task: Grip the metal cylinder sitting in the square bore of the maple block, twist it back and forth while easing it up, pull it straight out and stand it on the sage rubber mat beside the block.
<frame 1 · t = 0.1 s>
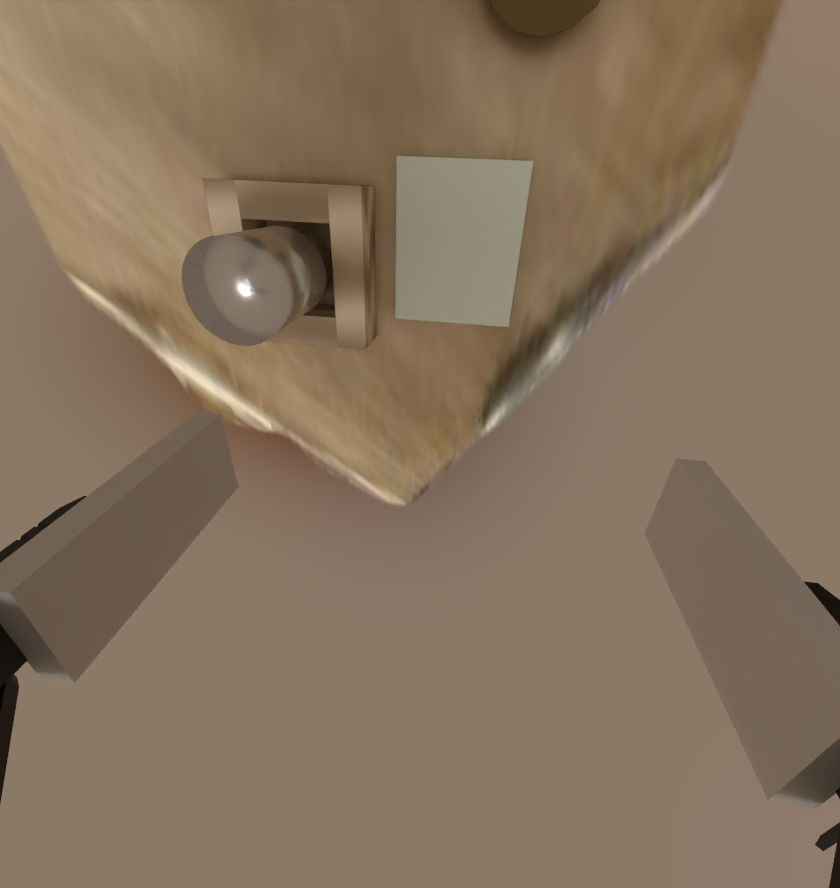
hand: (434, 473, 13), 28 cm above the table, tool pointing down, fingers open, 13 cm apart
mat: (457, 246, 35), on the table
bore block: (308, 263, 37), on the table
metal cylinder: (277, 275, 31), in the bore block
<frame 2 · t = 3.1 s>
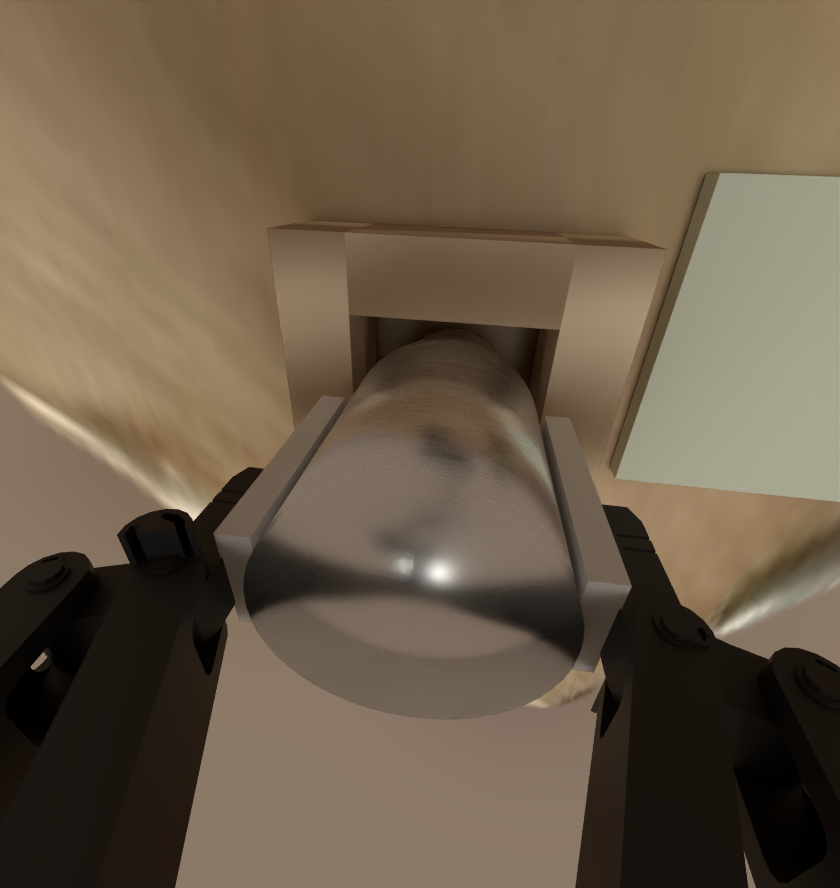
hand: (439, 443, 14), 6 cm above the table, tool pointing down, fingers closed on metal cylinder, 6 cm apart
mat: (779, 356, 17), on the table
bore block: (452, 375, 19), on the table
metal cylinder: (438, 451, 14), in the bore block, touching gripper
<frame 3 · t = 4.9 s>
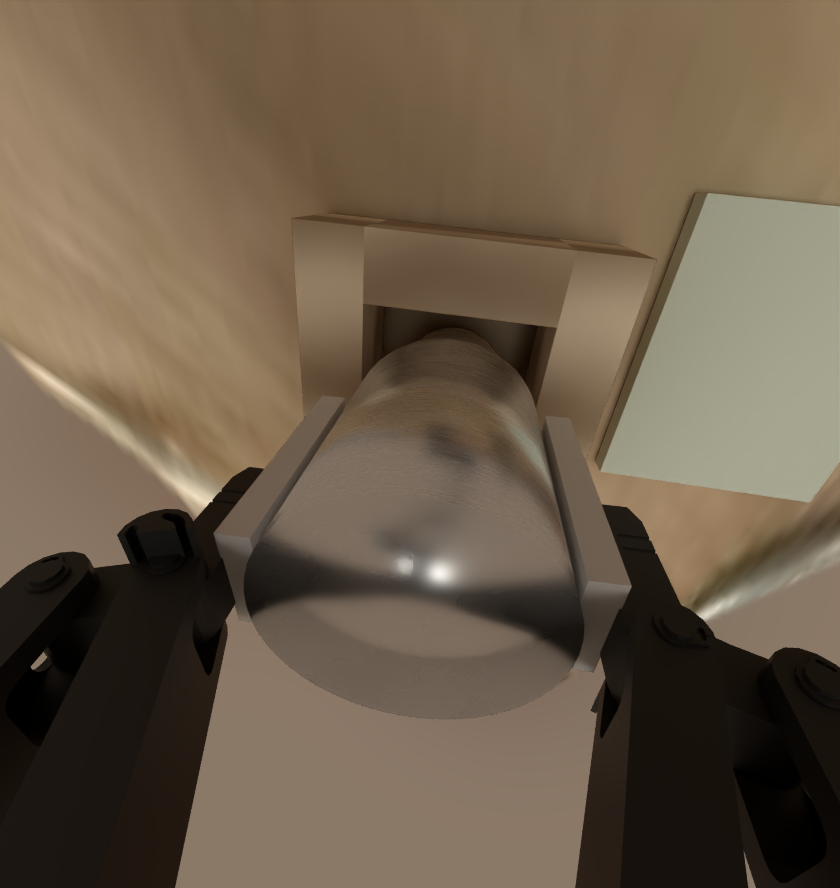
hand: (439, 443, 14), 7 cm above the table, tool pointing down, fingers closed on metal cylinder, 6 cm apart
mat: (753, 364, 18), on the table
bore block: (453, 367, 20), on the table
metal cylinder: (438, 451, 14), point 8 cm above the table, touching gripper
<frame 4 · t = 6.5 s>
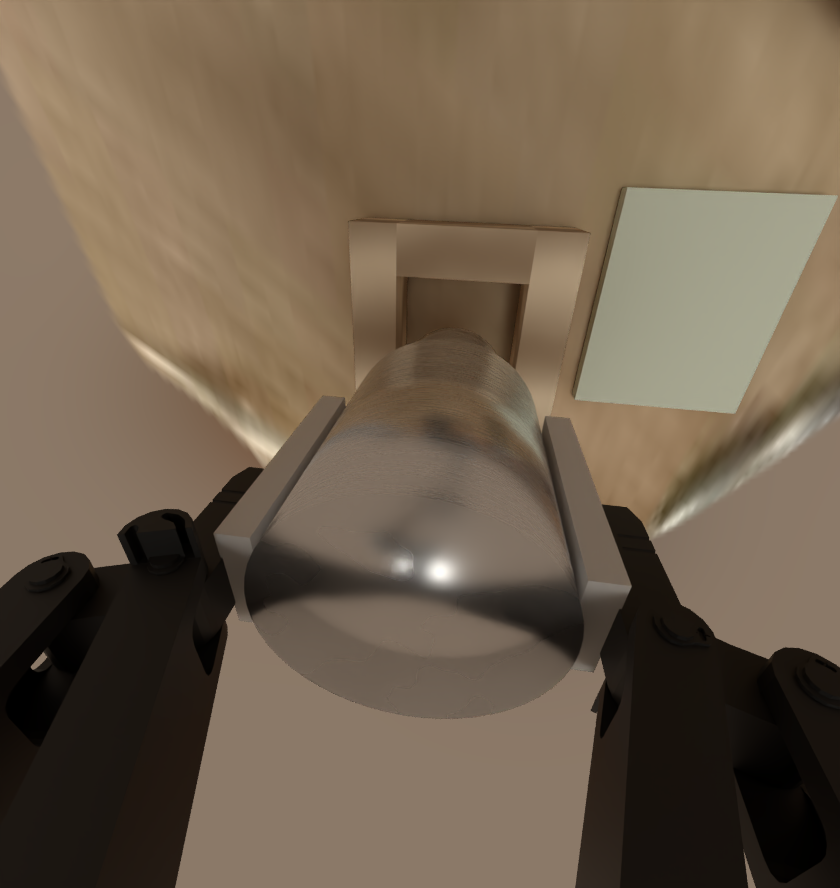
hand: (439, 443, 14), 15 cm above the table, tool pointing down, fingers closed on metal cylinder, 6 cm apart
mat: (680, 308, 25), on the table
bore block: (459, 326, 27), on the table
metal cylinder: (438, 451, 14), point 16 cm above the table, touching gripper
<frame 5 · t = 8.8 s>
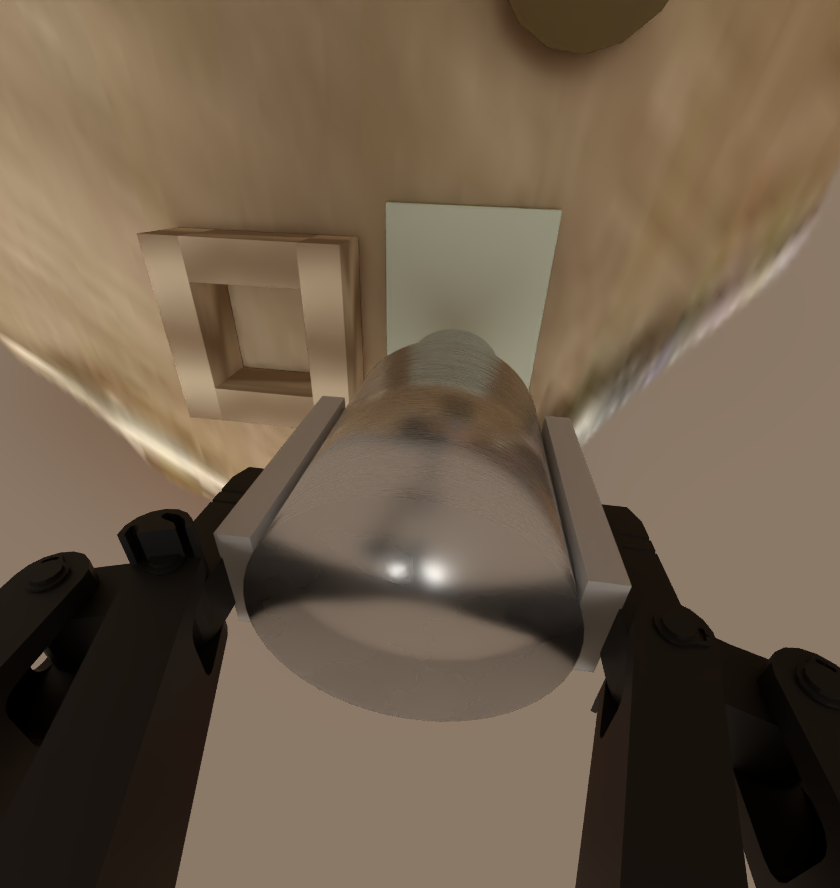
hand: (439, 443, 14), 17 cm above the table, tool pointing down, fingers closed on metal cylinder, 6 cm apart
mat: (463, 309, 28), on the table
bore block: (280, 325, 30), on the table
metal cylinder: (438, 452, 14), point 17 cm above the table, touching gripper
when the fingers open (8 cm above the table, at t = 10.4 s): metal cylinder drops 1 cm, resting on mat.
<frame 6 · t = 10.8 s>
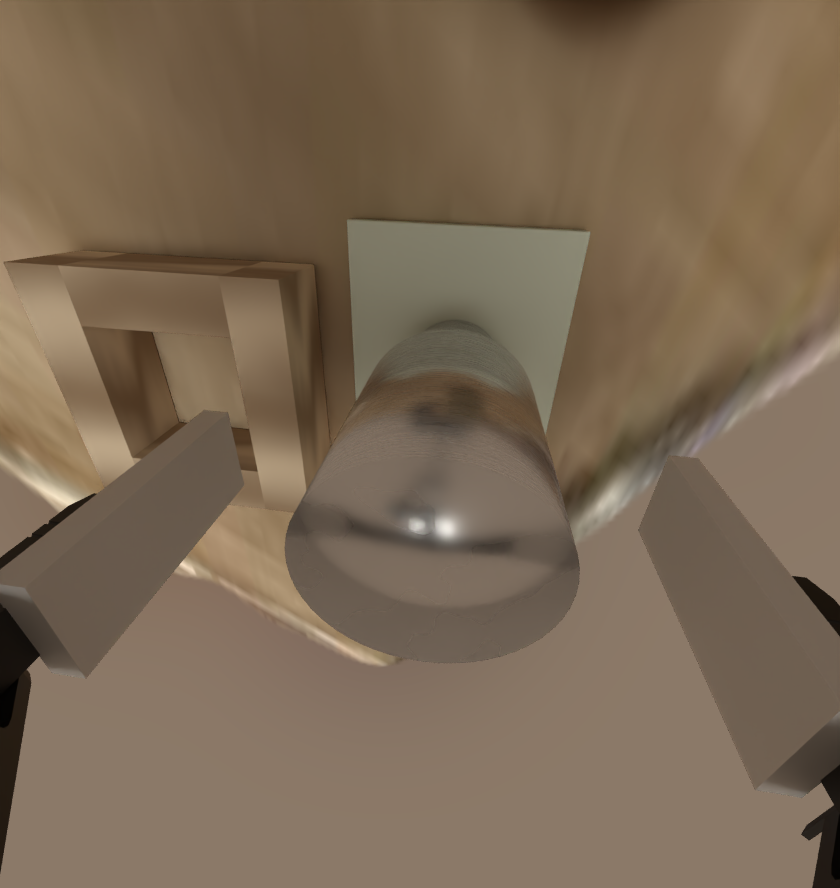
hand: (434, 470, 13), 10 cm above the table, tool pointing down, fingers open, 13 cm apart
mat: (455, 357, 21), on the table
bore block: (220, 373, 23), on the table
metal cylinder: (445, 432, 15), on the mat, point 8 cm above the table
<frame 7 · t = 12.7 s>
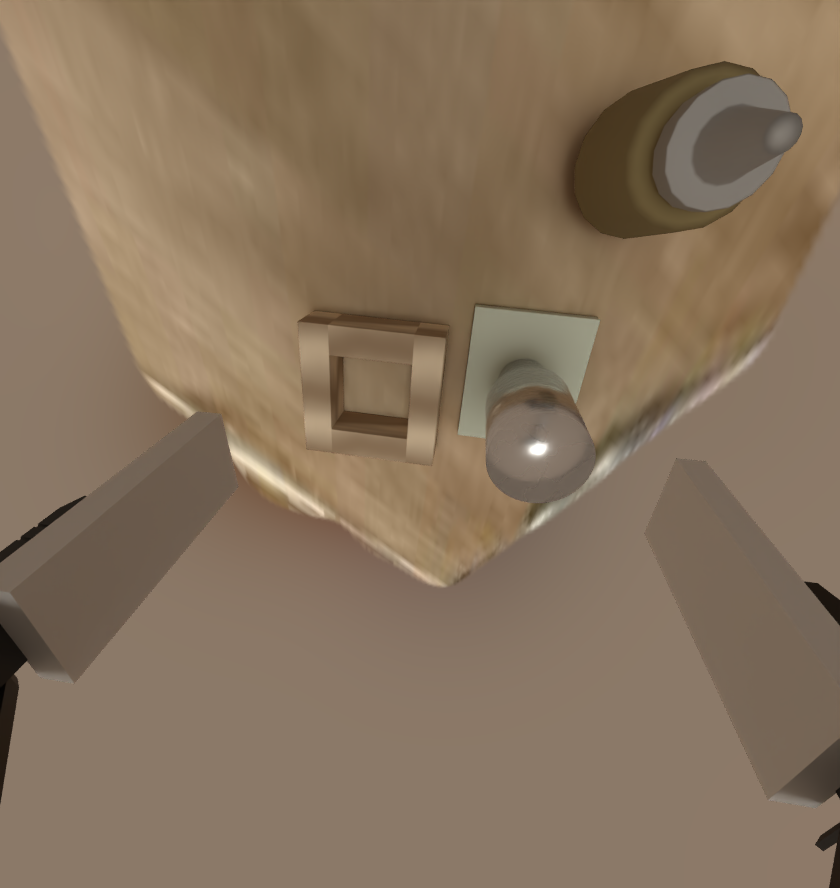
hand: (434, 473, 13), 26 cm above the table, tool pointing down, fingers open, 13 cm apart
mat: (521, 378, 38), on the table
squeeze bottle: (623, 171, 30), on the table
bore block: (379, 382, 40), on the table
metal cylinder: (529, 414, 31), on the mat, point 8 cm above the table
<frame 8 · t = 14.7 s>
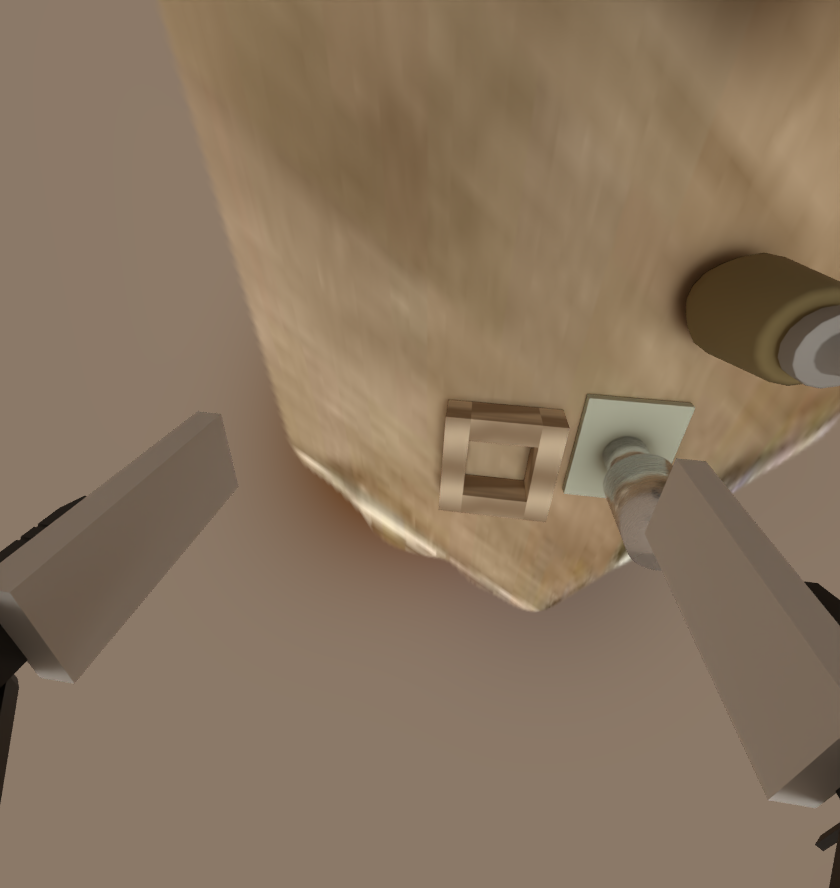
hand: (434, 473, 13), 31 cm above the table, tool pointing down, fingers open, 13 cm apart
mat: (621, 449, 45), on the table
squeeze bottle: (720, 297, 37), on the table
bore block: (497, 452, 47), on the table
metal cylinder: (643, 491, 39), on the mat, point 8 cm above the table
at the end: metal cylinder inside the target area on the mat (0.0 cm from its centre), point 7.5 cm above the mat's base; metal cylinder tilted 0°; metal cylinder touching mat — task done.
